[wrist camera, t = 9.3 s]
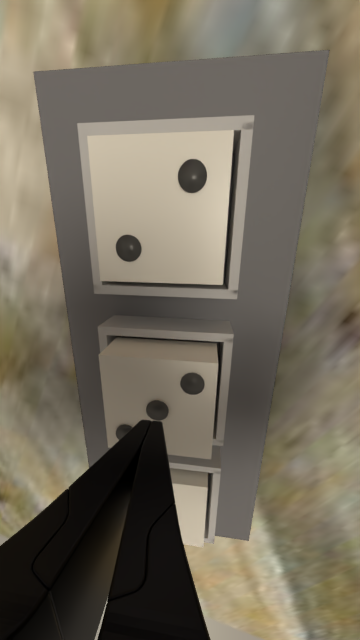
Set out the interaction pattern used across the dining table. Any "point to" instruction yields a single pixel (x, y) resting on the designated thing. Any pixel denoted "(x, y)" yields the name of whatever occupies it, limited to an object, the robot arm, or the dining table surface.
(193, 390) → the tile three dots
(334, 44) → the dining table surface
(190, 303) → the button panel
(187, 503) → the tile one dot
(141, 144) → the tile two dots
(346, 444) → the dining table surface
